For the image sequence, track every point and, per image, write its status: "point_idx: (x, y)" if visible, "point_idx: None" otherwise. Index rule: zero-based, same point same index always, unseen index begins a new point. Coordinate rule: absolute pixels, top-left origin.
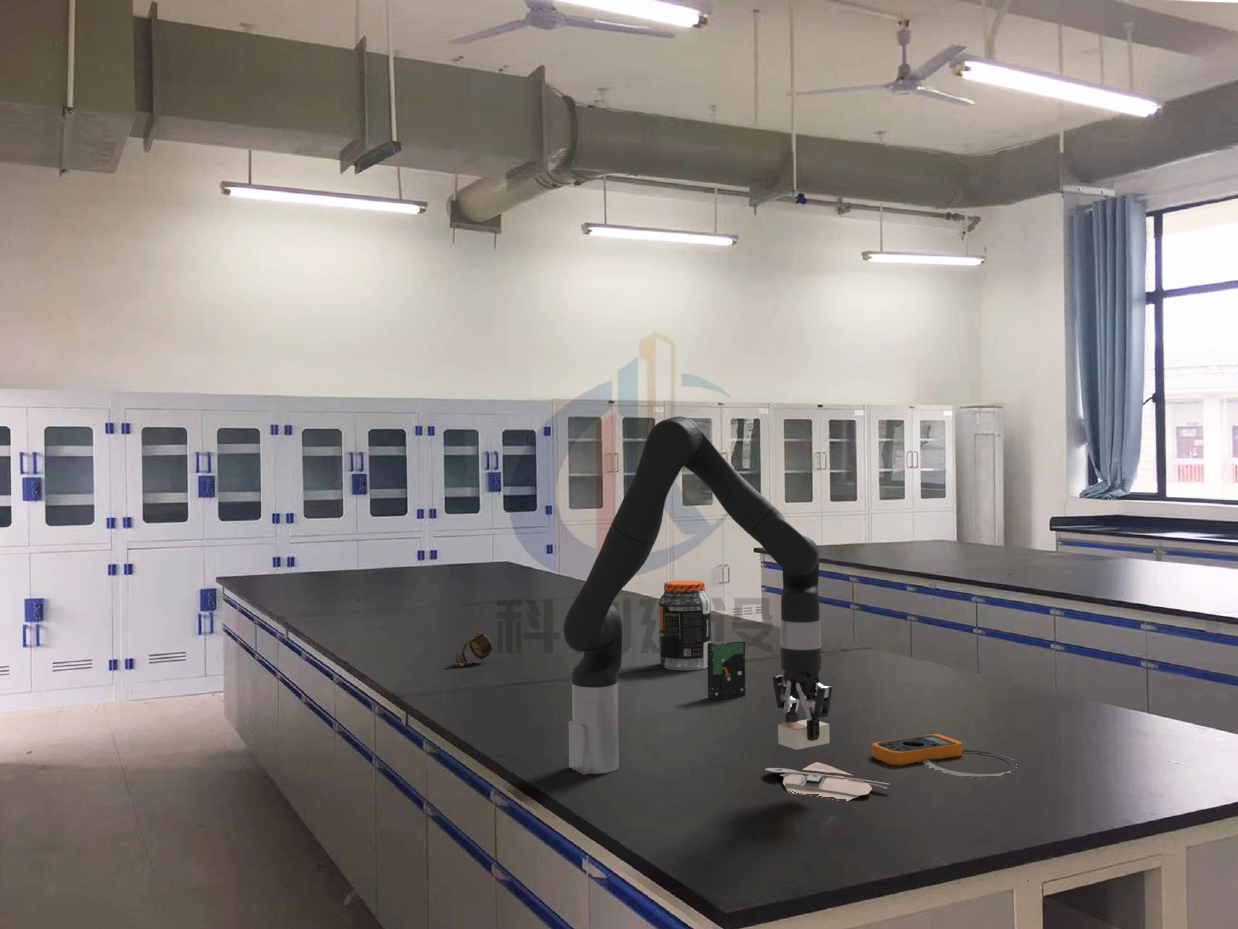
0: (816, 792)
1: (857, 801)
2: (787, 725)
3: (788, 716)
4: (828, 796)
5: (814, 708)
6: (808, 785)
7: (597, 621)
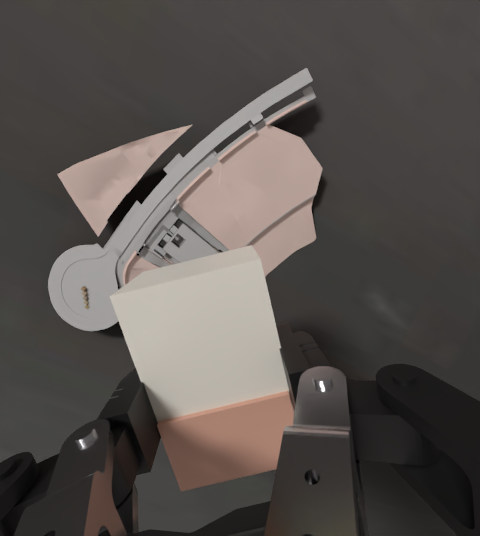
0: None
1: (316, 200)
2: (226, 470)
3: (149, 463)
4: (270, 251)
5: (435, 511)
6: None
7: None
